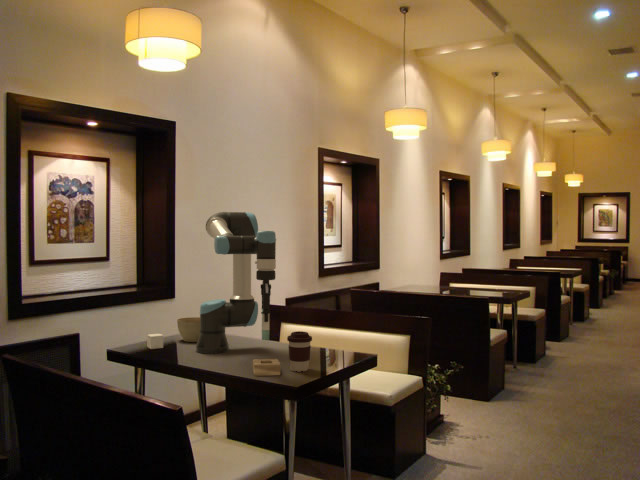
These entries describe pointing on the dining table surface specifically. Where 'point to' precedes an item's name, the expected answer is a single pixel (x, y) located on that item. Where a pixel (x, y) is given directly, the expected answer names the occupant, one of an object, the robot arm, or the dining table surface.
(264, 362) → the hole block
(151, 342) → the cream cube
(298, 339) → the coffee cup
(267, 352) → the dining table surface
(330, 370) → the dining table surface
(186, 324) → the planter bowl
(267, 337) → the peg
